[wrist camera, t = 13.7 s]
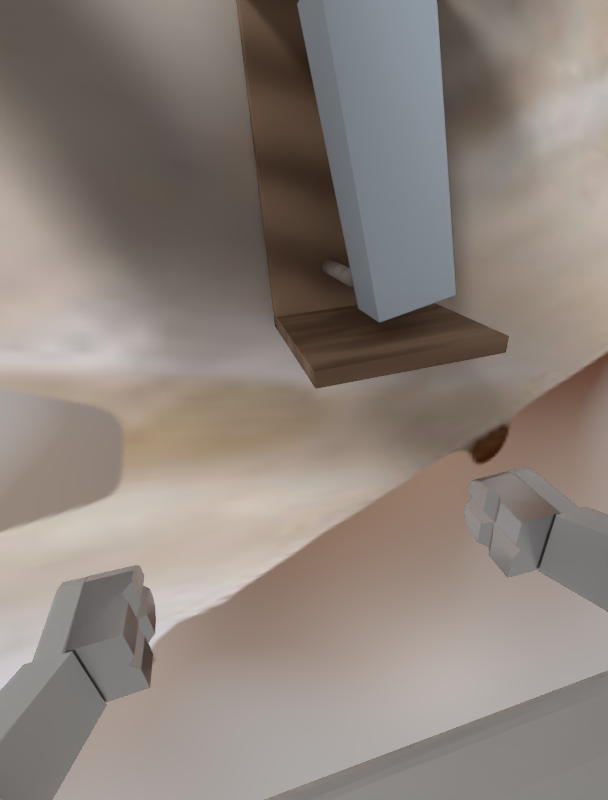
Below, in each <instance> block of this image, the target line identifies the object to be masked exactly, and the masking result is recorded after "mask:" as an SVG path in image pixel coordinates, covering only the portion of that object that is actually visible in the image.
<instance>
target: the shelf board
mask: <svg viewBox="0 0 608 800" xmlns="http://www.w3.org/2000/svg"><path fill="white" fill-rule="evenodd" d="M297 6H298V11H299V16H300V21H301V26H302V31H303V36H304V41H305V46H306V51H307V56H308V61H309V66H310V71H311V76H312V81H313V86H314V90H315V95H316V100H317V105H318V110H319V115H320V120H321V125H322V130H323V135H324V140H325V145H326V150H327V155H328V160H329V165H330V170H331V175H332V180H333V185H334V190H335V195H336V200H337V205H338V210H339V215H340V220H341V225H342V230H343V235H344V240H345V245H346V250H347V255H348V260H349V265H350V270H351V275H352V280H353V285H354V290H355V295H356V300H357V305H358V309H360V310H361V311H363V312H364V313H366V314H367V315H369V316H370V317H372V318H373V319H375V320H376V321H377V322H379V323H380V322H383V321H385V320H388V319H391V318H394V317H396V316H399V315H402V314H405V313H407V312H410V311H413V310H416V309H419V308H421V307H424V306H427V305H430V304H432V303H435V302H438V301H441V300H443V299H446V298H449V297H452V296H455V295H456V286H455V270H454V255H453V240H452V224H451V209H450V193H449V178H448V163H447V147H446V132H445V116H444V101H443V86H442V70H441V55H440V39H439V24H438V8H437V0H299V2H298V4H297Z"/></svg>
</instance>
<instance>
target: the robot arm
mask: <svg viewBox="0 0 608 800" xmlns="http://www.w3.org/2000/svg"><path fill="white" fill-rule="evenodd" d="M468 494H469V495H470V496H471V497H472V498H471V499H470V500H469V502H468V503H467V504H466V505H465V514H464V517H465V520H466V524H467V527H468V529H469V530H470V533H471V534H472V535H473V537H474V538H475V539H476V540H477V542H479V543H481V544H483V545H485V546H488V547H489V556H490V557H491V558H492V560H493V561H494V562H495V563H496V564H497V566H498V567H499V568H500V569H501V570H502V572H503V573H504V574H505V575H506V576H507V577H512V576H516V575H519V574H522V573H526V572H530V571H534V570H537V569H539V572H541V573H543V574H544V575H546V576H548V577H550V578H551V579H553V580H555V581H556V582H558V583H560V584H561V585H563V586H565V587H567V588H568V589H570V590H572V591H573V592H575V593H577V594H579V595H580V596H582V597H584V598H586V599H587V600H589V601H591V602H593V603H594V604H596V605H597V606H599V607H601V608H603V609H604V610H606V611H608V514H605V513H602V512H599V511H596V510H594V509H591V508H588V507H582V508H580V507H578V506H577V505H576V504H574V503H573V502H572V501H571V500H569V499H568V498H567V497H566V496H564V495H563V494H562V493H561V492H559V491H558V490H557V489H556V488H554V487H553V486H552V485H551V484H549V483H548V482H547V481H546V480H544V479H543V478H542V477H540V476H539V475H538V474H537V473H536V472H534V471H533V470H532V469H530V468H527V467H522V468H518V469H514V470H510V471H507V472H502V473H498V474H495V475H491V476H487V477H483V478H479V479H476V480H472V481H471V483H470V484H469V486H468ZM143 581H144V574H143V572H142V570H141V568H140V566H138V565H135V566H131V567H127V568H122V569H118V570H113V571H109V572H104V573H100V574H96V575H91V576H88V577H84V578H80V579H75V580H71V581H67V582H63V583H62V584H61V586H60V587H59V588H58V589H57V592H56V594H55V597H54V600H53V603H52V606H51V609H50V612H49V615H48V618H47V620H46V623H45V626H44V629H43V632H42V635H41V638H40V641H39V644H38V646H37V649H36V652H35V655H34V658H33V661H32V662H31V663H28V664H24V665H23V666H22V667H21V668H20V669H19V670H18V672H17V673H16V674H15V675H14V676H13V677H12V678H11V679H10V680H9V682H8V683H7V684H6V685H5V686H4V687H3V688H2V689H1V691H0V800H52V799H53V798H54V796H55V794H56V793H57V791H58V789H59V787H60V786H61V784H62V782H63V780H64V779H65V777H66V775H67V773H68V772H69V770H70V768H71V766H72V764H73V763H74V761H75V759H76V758H77V756H78V754H79V752H80V751H81V749H82V747H83V745H84V744H85V742H86V740H87V738H88V737H89V735H90V733H91V731H92V730H93V728H94V726H95V724H96V723H97V721H98V719H99V717H100V716H101V714H102V712H103V710H104V709H105V707H106V702H109V701H112V700H115V699H118V698H120V697H124V696H127V695H129V694H132V693H135V692H138V691H141V690H144V689H147V688H150V683H151V671H152V661H153V653H152V651H151V648H150V646H149V644H148V643H149V641H150V640H151V638H152V637H153V635H154V634H155V624H156V616H155V604H154V600H153V596H152V593H151V591H150V589H149V588H147V587H145V586H143ZM265 800H608V671H605V672H603V673H600V674H597V675H595V676H592V677H589V678H587V679H584V680H581V681H579V682H576V683H573V684H571V685H568V686H565V687H563V688H560V689H557V690H555V691H552V692H549V693H547V694H544V695H541V696H539V697H536V698H534V699H531V700H528V701H525V702H523V703H520V704H518V705H515V706H512V707H510V708H507V709H504V710H502V711H499V712H496V713H494V714H491V715H488V716H486V717H483V718H480V719H478V720H475V721H473V722H470V723H467V724H464V725H462V726H459V727H456V728H454V729H451V730H448V731H446V732H443V733H440V734H438V735H435V736H433V737H430V738H427V739H424V740H422V741H419V742H417V743H414V744H412V745H409V746H406V747H403V748H401V749H398V750H395V751H393V752H390V753H387V754H385V755H382V756H379V757H377V758H374V759H371V760H369V761H366V762H363V763H361V764H358V765H355V766H353V767H350V768H347V769H345V770H342V771H339V772H337V773H334V774H331V775H329V776H326V777H324V778H321V779H318V780H316V781H313V782H310V783H308V784H305V785H302V786H300V787H297V788H294V789H292V790H289V791H287V792H284V793H281V794H279V795H276V796H273V797H270V798H268V799H265Z"/></svg>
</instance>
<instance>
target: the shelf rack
mask: <svg viewBox="0 0 608 800" xmlns="http://www.w3.org/2000/svg"><path fill="white" fill-rule="evenodd" d="M236 1H237V10H238V18H239V26H240V35H241V43H242V51H243V60H244V68H245V77H246V85H247V93H248V102H249V110H250V118H251V127H252V135H253V143H254V152H255V160H256V169H257V177H258V185H259V194H260V202H261V210H262V219H263V227H264V236H265V244H266V252H267V261H268V269H269V277H270V286H271V294H272V303H273V311H274V319H275V326H276V328H277V329H278V331H279V333H280V334H281V336H282V337H283V339H284V340H285V342H286V343H287V345H288V346H289V348H290V350H291V351H292V353H293V354H294V356H295V357H296V359H297V360H298V362H299V363H300V365H301V367H302V368H303V370H304V371H305V373H306V374H307V376H308V377H309V379H310V381H311V382H312V384H313V385H314V387H315V388H321V387H326V386H332V385H337V384H342V383H348V382H353V381H358V380H363V379H369V378H374V377H379V376H384V375H390V374H395V373H400V372H405V371H411V370H416V369H421V368H426V367H432V366H437V365H442V364H447V363H453V362H458V361H463V360H468V359H474V358H479V357H484V356H490V355H495V354H500V353H505V352H506V349H507V343H508V338H509V336H507V335H505V334H503V333H500V332H498V331H496V330H494V329H491V328H489V327H487V326H485V325H482V324H480V323H478V322H475V321H473V320H471V319H469V318H466V317H464V316H462V315H460V314H457V313H455V312H453V311H451V310H448V309H446V308H444V307H442V306H439V305H437V304H435V303H432V304H430V305H427V306H424V307H421V308H419V309H416V310H413V311H410V312H407V313H405V314H402V315H399V316H396V317H394V318H391V319H388V320H385V321H383V322H380V323H379V322H377V321H376V320H375V319H373V318H372V317H370V316H369V315H367V314H366V313H364V312H363V311H361V310H360V309H358V305H357V300H356V295H355V290H354V285H353V280H352V275H351V270H350V265H349V260H348V255H347V250H346V245H345V240H344V235H343V230H342V225H341V220H340V215H339V210H338V205H337V200H336V195H335V190H334V185H333V180H332V175H331V170H330V165H329V160H328V155H327V150H326V145H325V140H324V135H323V130H322V125H321V120H320V115H319V110H318V105H317V100H316V95H315V90H314V86H313V81H312V76H311V71H310V66H309V61H308V56H307V51H306V46H305V41H304V36H303V31H302V26H301V21H300V16H299V11H298V6H297V4H298V2H299V0H236Z"/></svg>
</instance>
